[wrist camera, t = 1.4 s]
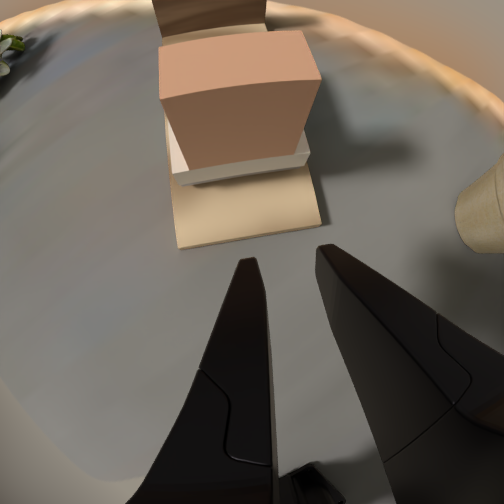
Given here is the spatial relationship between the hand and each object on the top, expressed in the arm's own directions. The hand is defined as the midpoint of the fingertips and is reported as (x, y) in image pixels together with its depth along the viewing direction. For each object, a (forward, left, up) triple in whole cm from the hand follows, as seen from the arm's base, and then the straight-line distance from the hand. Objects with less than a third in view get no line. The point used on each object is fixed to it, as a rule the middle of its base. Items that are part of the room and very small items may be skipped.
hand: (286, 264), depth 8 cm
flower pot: (-8, -20, -14) cm, 25 cm away
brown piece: (+11, -5, -12) cm, 17 cm away
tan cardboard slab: (+13, -6, -14) cm, 20 cm away
